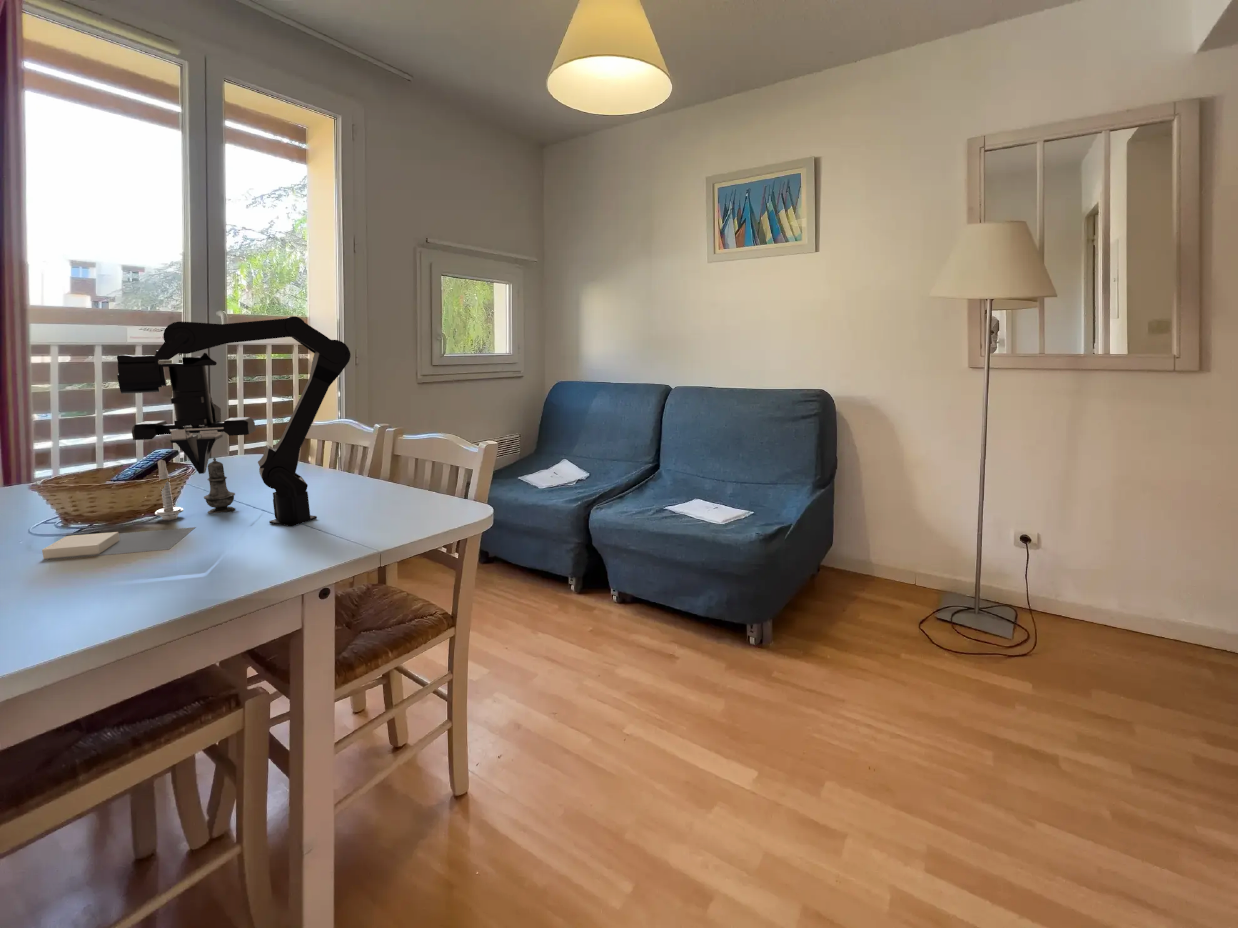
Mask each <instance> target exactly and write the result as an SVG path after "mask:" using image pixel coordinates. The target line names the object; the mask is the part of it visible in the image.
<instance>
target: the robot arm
mask: <svg viewBox="0 0 1238 928" xmlns="http://www.w3.org/2000/svg"><path fill="white" fill-rule="evenodd" d="M279 338H280V339H283V338H292V339H293V340H294V341H296V342H297V343H299V344H300V345H301V346H303V347H305V348H306V349H307V350H308V351H309V352H311V353H313V357H312V360H311V361H312V362H311V366H310V367H311V368H310V373H309V378H308V380H307V382H306V384H305V386H304V388H303V390H302V393H301V395H300V397H299V398H298V401H297V403H296V405H295V407H294V410H293V412H292V414H291V416H290V417H289V420H288V423H287V424H286V427H285V429H284V431H283V433H282V434H281V437H280V439H279V440H278V442H276V444H275V445H274V446H271V445H269V444H266V445H265V448H264V452H263V455H262V456H261V458H260V459H259V460H258V461H257V464H258V466H259V467H258V468H259V475H260V477H261V480H262V482H263V483H264V484H265V485H266V487H268V488H270V489H272V490H274V491H273V492H272V497H273V498H272V502H273V503H272V504H273V513H274V518H275V519H271V520H269V524H272V525H277V526H283V527H285V526H286V527H294V526H297V525H300V524H305V523H307V522H311V521H313V520H317V519H318V516H317V515H311V510H310V501H309V492H308V491H307V489H308V486H309V485H308V484H307V482H306V481H305V479H304V478H303V477H302V476H301V475H300V474H298V473H297V472H296V471H297V468H298V464H299V458H300V451H301V448H302V445H303V443H304V441H305V439H306V437H307V435H308V433H309V431H310V429H311V426H312V424H313V422H314V420H315V418H316V416H317V413H318V411H319V409H320V408H321V404H322V403H323V401H324V398H326V397H325V396H326V395H327V393H328V389H329V387H330V386H331V385H332V384H333V383H334V382H335V381H336V380H337V379H338V377H339V376H340V375H341V373H342V372H343V371H344V369H345V368H346V366H347V365H348V364H349V362H350V360H351V356H352V355H351V351H350V349H349V347H348V345H347V344H346V343H344V342H343V341H341V340H338V339H331V338H329V337H328V336H326V335H325V334H323V333H321V332H320V331H319V330H317V329H315V328H313V327H312V326H311V325H309V324H308V323H307V322H305V321H304V320H303V319H302V318H300V317H298V316H288V317H285V318H276V319H274V318H273V319H267V320H266V319H264V320H254V321H245V322H244V321H243V322H231V323H212V322H211V323H209V322H195V321H175V322H172V323H170V324H169V325H167V327H166V328H165V329H164V332H163V342H164V343H162V344H161V346H160V348H159V349H156V350H155V354H154V355H130V354H129V355H128V354H118V355H116V359H117V360H116V361H117V371H118V373H117V374H116V376H117V382H118V383H117V384H118V387H119V391H120V393H121V394H122V395H128V394H130V395H131V394H146V393H147V394H148V393H153V394H154V393H161V388H163V387H167V378H166V371H165V368H167V367H168V374H169V375H168V376H169V380H170V389H171V394H172V397H171V398H170V401H171V402H170V403H171V405H173V407H174V414H175V420H174V421H173V424H172V423H170V424H169V423H168V422H167V421H166V420H148V421H147V420H145V421H142V422H139V423H135V424H134V425H133V426H132V428H131V435H132V436H131V437H132V440H133V441H144V440H145V441H147V440H153V439H155V438H156V437H157V436H164V435H170V437H171V439H170V440H169V442H170V444H176V445H177V446H178V447H179V448H180V450H181V451H182V452H183V453H184V454H185V455H186V456H187V458H188V459H189V461H190V463H191V464H192V466H193V467H194V468H195V470H196V472H197V473H198V474H199V475H200V474H202V475H203V474H206V471H207V469H208V464H209V459H210V455H211V452H212V449H213V447H214V444H215V442H216V441H219V439H222V438H223V436H224V434H223V433H225V434H226V435H228V436H232V437H233V436H246V435H251V434H253V433H254V432H256V431H257V429H256V423H255V421H254V419H253V418H252V417H250V416H248V417H247V416H245V417H244V416H243V417H229V418H227V419H225V420H224V421H222V409H221V407H220V406H218V405H217V404H215V403H214V401H213V398H212V395H211V394H210V389H209V381H208V376H207V375H208V373H207V367H211V366H216V365H217V361H216V360H214V359H213V358H211V357H210V356H209V355H208V353H207V352H204V353H202V355H201V356H182V359H181V360H182V362H174V363H173V362H172V363H170V362H169V363H160V361H169V360H171V359H172V358H174V357H175V356H178V354H181V355H182V354H185V355H188V354H189V355H190V354H192V353H196V352H200V351H204V350H207V349H211V348H215V347H218V346H222V345H226V344H233V343H243V342H244V343H245V342H252V341H261V340H262V341H263V340H272V339H273V340H274V339H279ZM193 434H194V435H193ZM198 434H200V437H199V436H198Z"/></svg>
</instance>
